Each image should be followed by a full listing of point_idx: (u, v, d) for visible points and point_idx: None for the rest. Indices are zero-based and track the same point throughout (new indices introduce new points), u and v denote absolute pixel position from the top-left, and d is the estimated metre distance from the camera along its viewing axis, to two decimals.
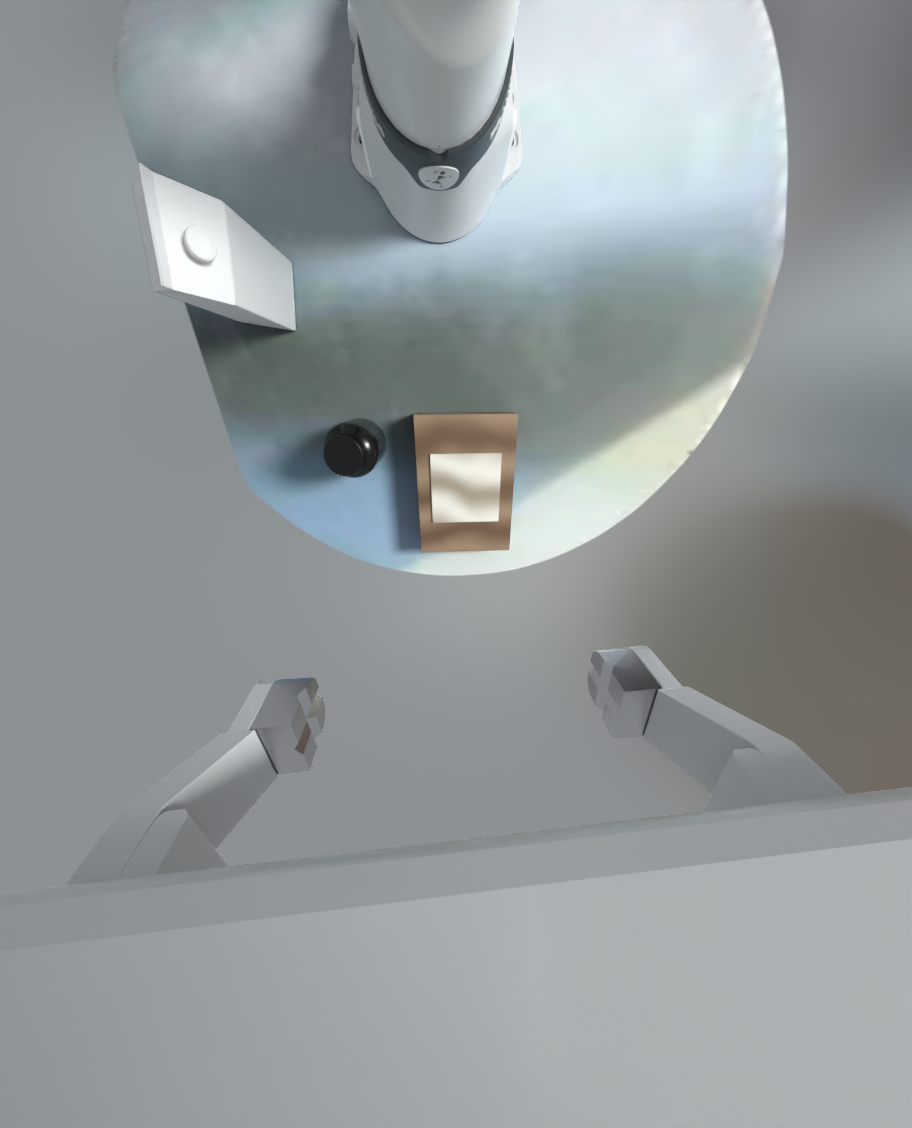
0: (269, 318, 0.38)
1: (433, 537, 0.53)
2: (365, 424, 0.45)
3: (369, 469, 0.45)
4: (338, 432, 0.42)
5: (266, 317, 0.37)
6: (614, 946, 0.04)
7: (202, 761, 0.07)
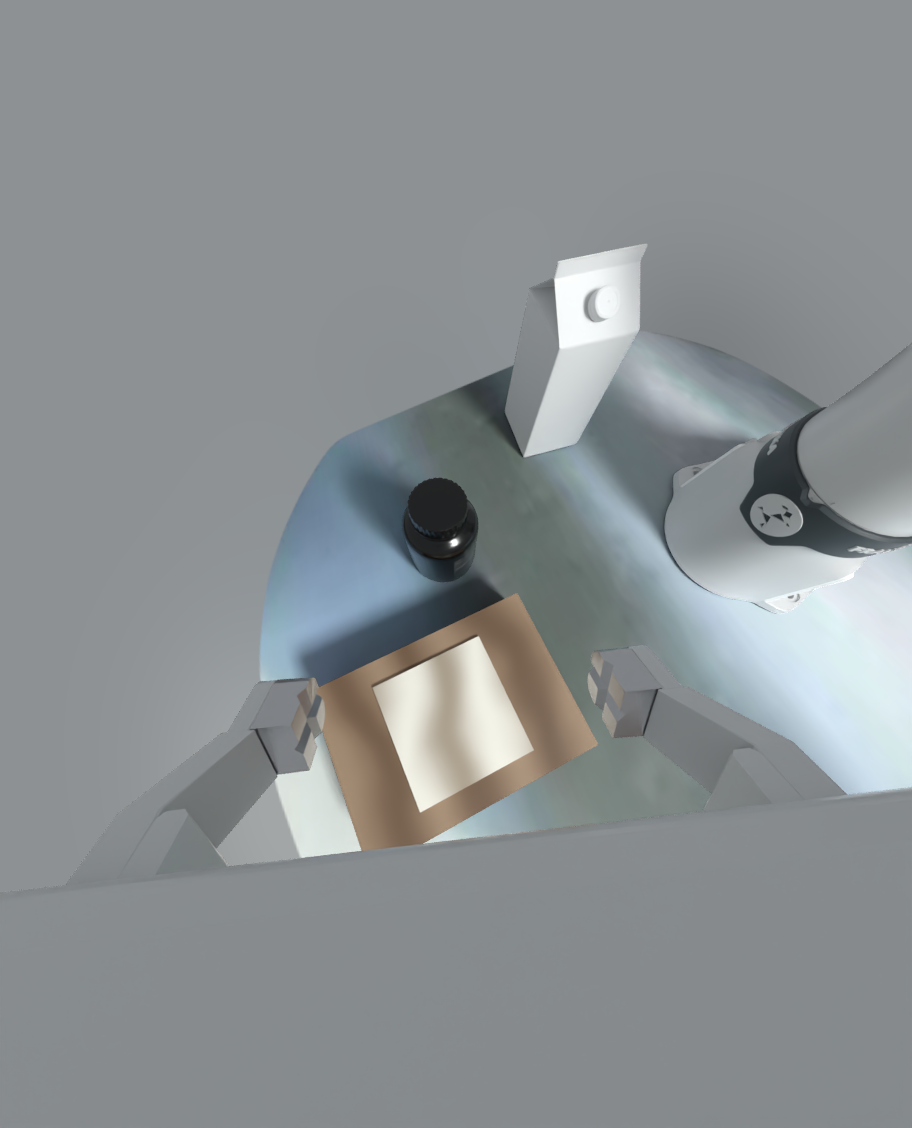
0: (539, 411, 0.34)
1: (344, 701, 0.29)
2: None
3: (426, 552, 0.29)
4: None
5: (541, 406, 0.34)
6: (614, 946, 0.04)
7: (202, 761, 0.07)
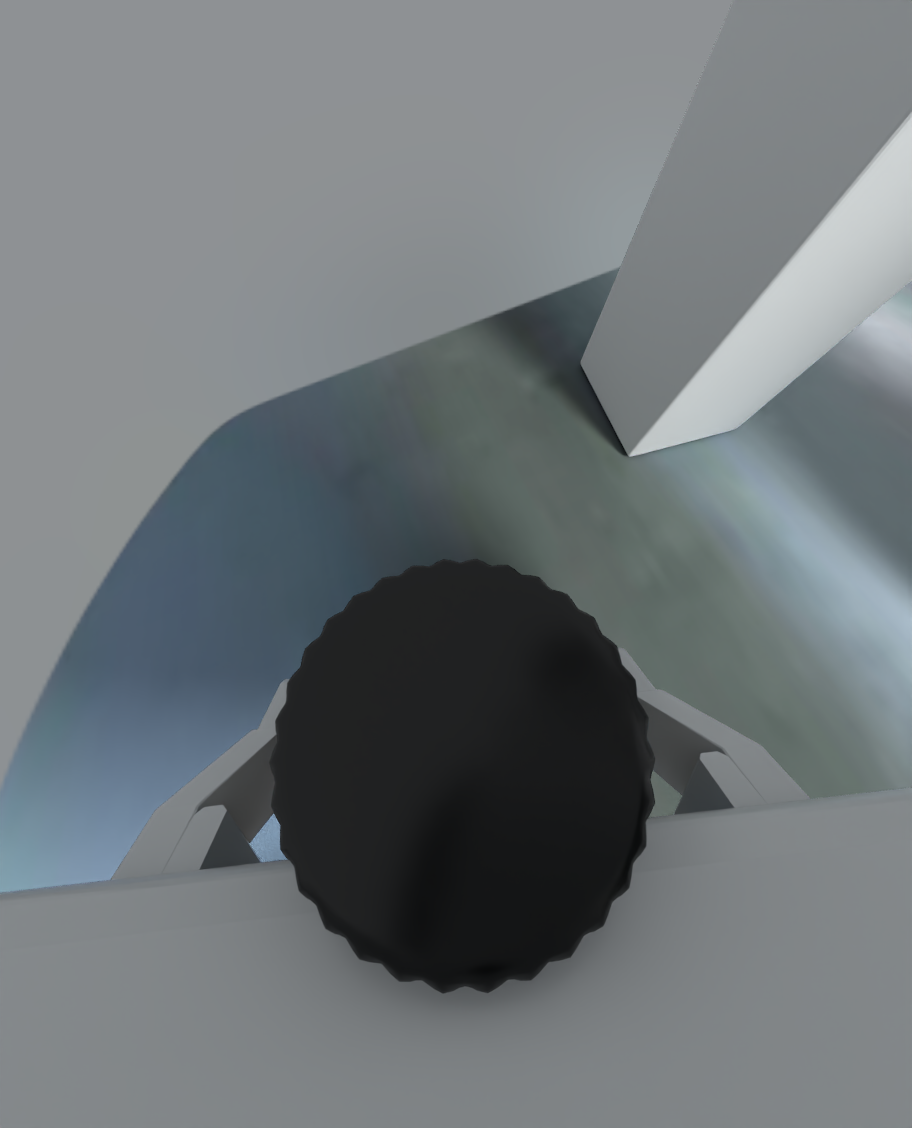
0: (740, 324, 0.12)
1: None
2: None
3: None
4: None
5: (757, 303, 0.11)
6: (614, 946, 0.04)
7: (235, 758, 0.07)
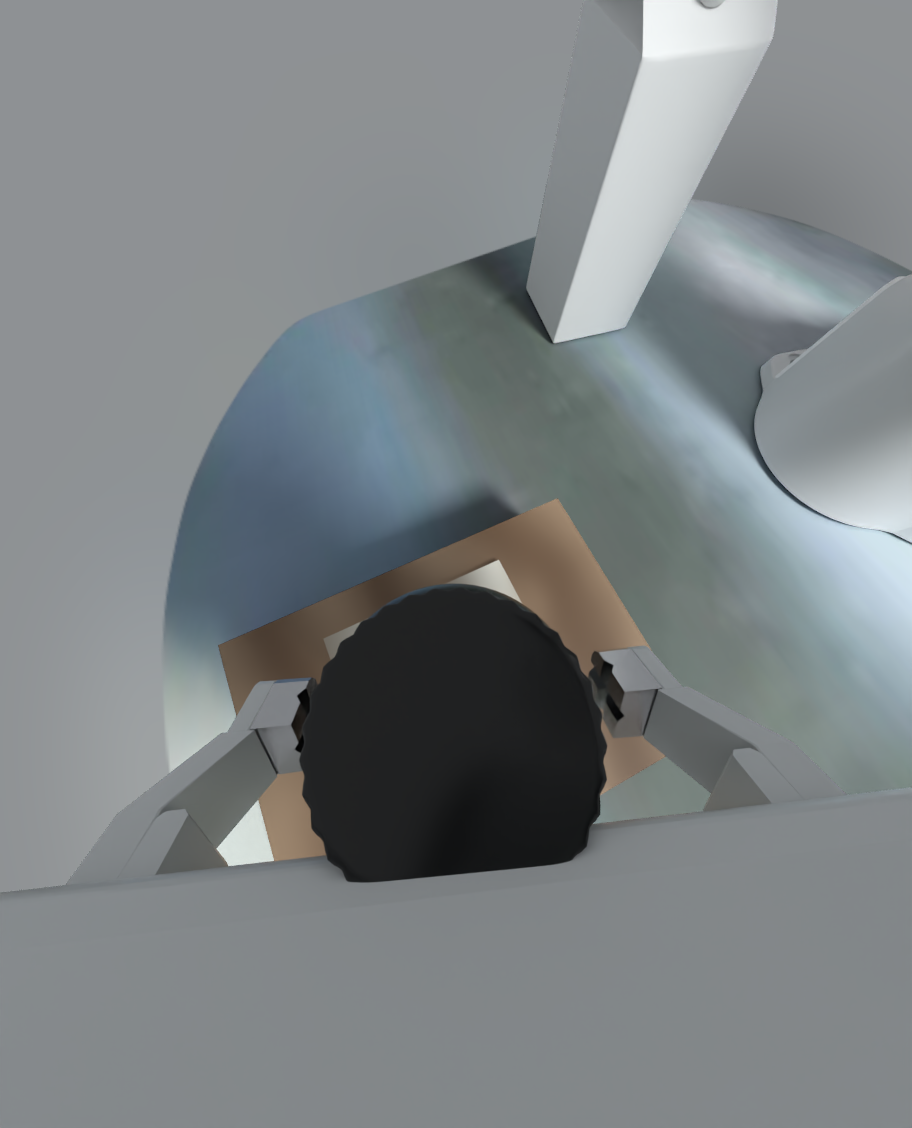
0: (587, 238, 0.23)
1: (276, 661, 0.17)
2: None
3: None
4: None
5: (591, 224, 0.22)
6: (614, 946, 0.04)
7: (202, 761, 0.07)
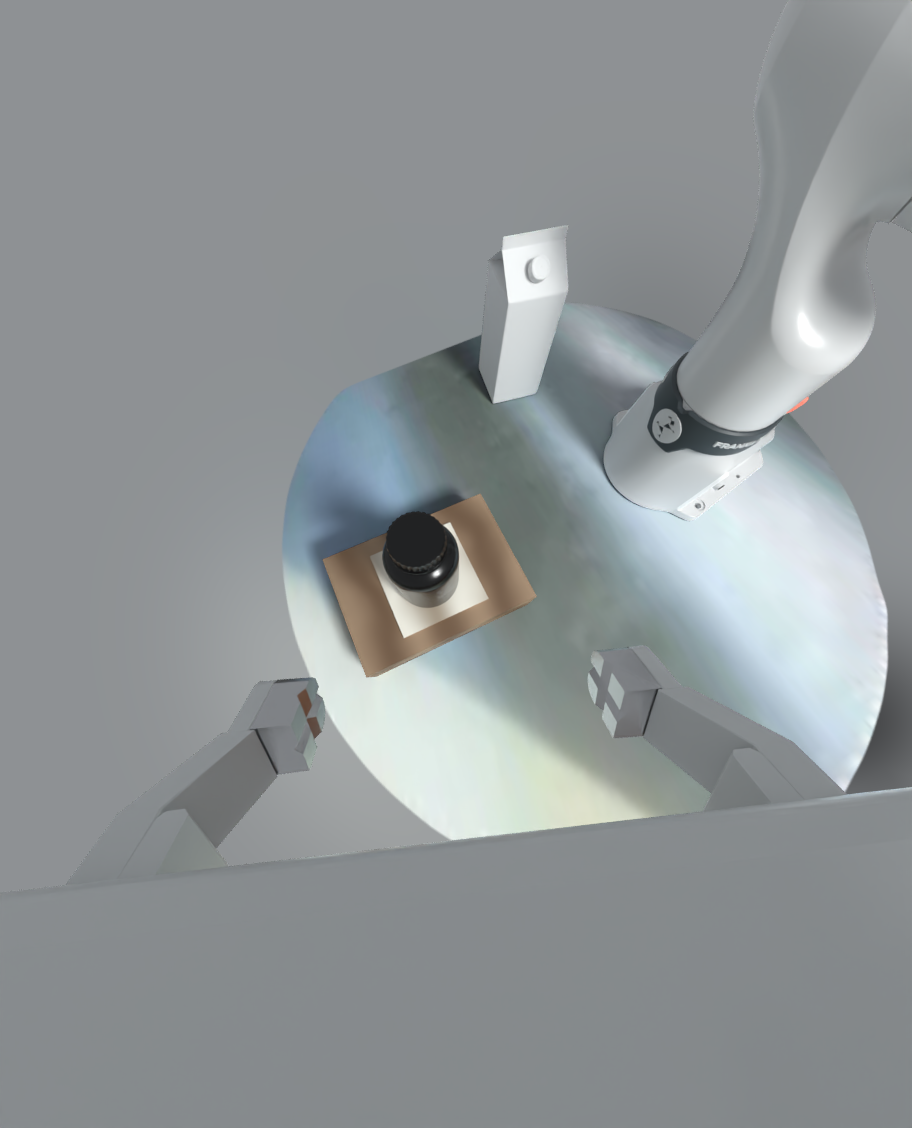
0: (500, 359, 0.44)
1: (348, 566, 0.39)
2: None
3: (407, 585, 0.29)
4: None
5: (501, 354, 0.44)
6: (614, 946, 0.04)
7: (202, 761, 0.07)
